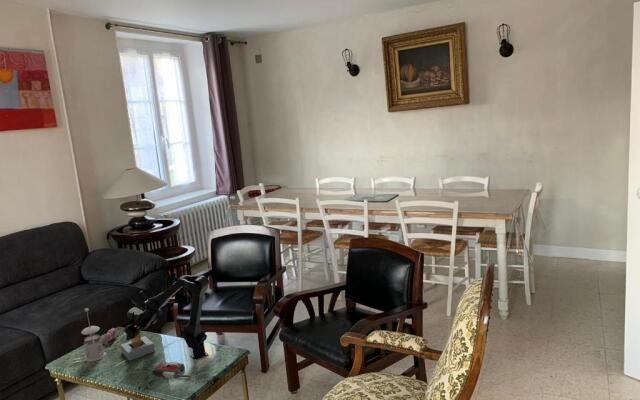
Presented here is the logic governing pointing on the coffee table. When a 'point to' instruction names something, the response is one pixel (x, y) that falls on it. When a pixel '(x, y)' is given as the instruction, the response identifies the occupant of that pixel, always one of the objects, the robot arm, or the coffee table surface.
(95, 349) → the french press
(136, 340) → the peg
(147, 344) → the socket block
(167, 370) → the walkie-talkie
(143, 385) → the coffee table surface
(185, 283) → the robot arm
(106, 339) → the video game controller
